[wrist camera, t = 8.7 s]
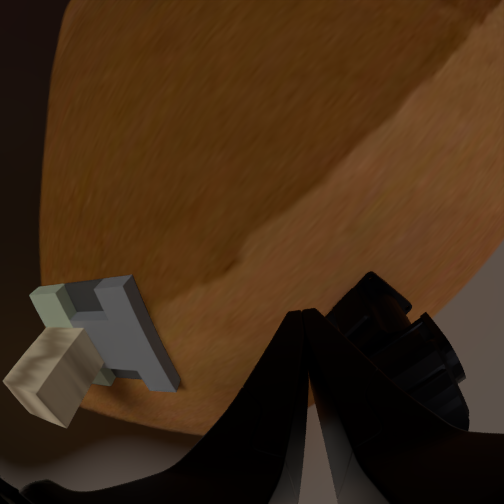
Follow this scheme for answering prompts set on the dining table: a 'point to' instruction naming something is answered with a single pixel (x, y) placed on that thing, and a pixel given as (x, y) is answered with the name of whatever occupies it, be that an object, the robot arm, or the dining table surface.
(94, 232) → the dining table surface
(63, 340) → the maple block
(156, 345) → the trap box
